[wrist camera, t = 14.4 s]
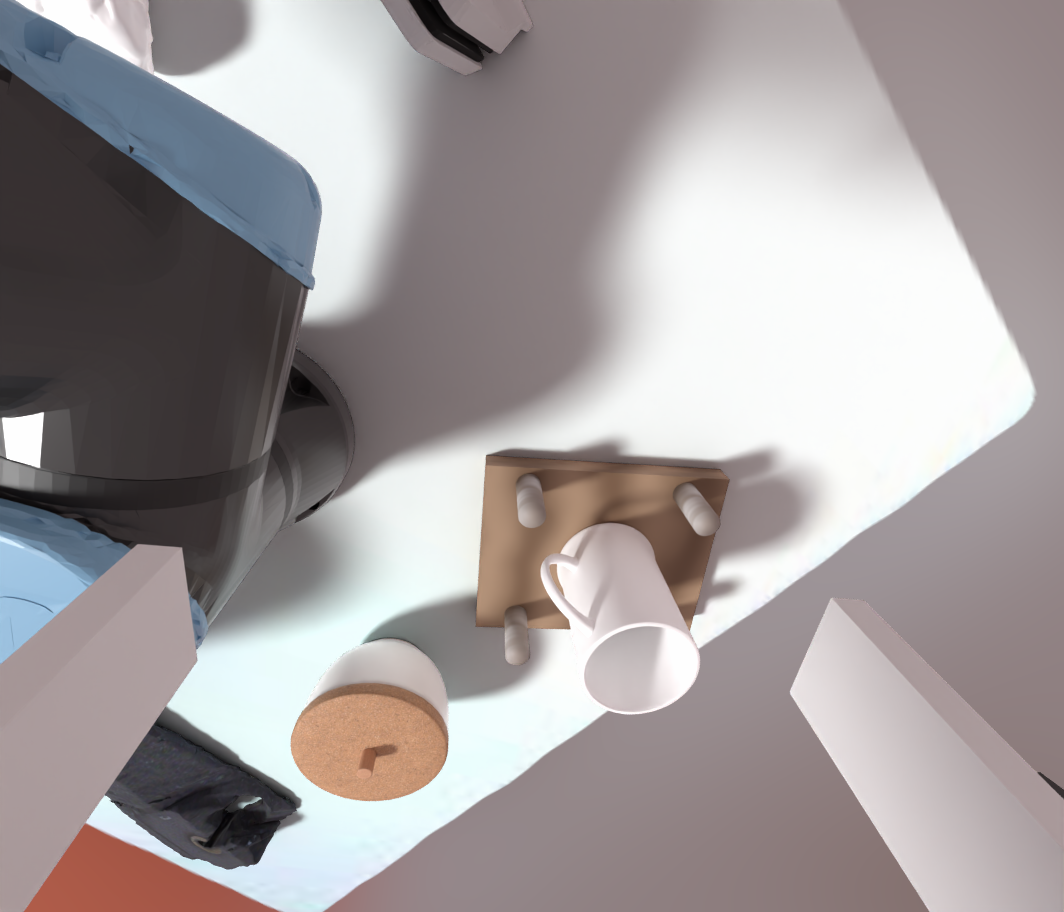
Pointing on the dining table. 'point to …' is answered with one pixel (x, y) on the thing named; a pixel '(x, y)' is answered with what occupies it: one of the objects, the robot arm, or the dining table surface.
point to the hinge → (459, 28)
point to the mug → (622, 620)
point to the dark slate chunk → (196, 801)
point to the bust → (105, 24)
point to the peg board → (575, 504)
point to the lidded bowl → (374, 723)
